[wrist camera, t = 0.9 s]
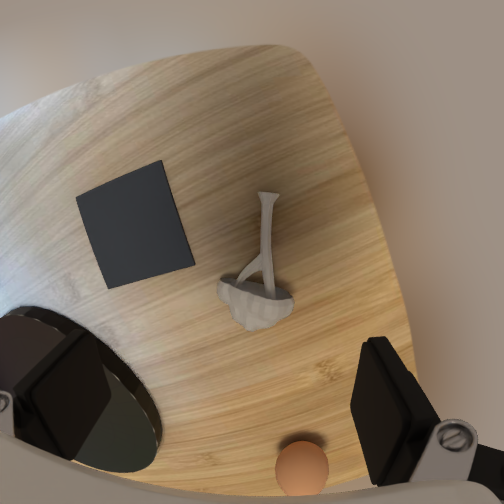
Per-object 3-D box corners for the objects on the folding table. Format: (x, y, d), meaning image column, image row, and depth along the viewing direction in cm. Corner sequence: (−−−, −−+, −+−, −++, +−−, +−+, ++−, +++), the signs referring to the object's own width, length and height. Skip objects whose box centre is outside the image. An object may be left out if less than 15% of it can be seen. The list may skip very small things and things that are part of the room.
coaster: (77, 197, 27) (75, 197, 26) (161, 160, 25) (160, 160, 25) (109, 288, 29) (108, 289, 29) (195, 264, 28) (194, 265, 27)
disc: (186, 471, 37) (182, 485, 34) (46, 441, 39) (40, 450, 36) (122, 304, 29) (110, 316, 26) (-24, 303, 31) (-36, 311, 29)
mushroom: (305, 195, 22) (283, 348, 23) (311, 199, 26) (292, 329, 28) (217, 186, 24) (203, 330, 25) (236, 191, 28) (223, 314, 30)
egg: (289, 425, 33) (292, 483, 24) (334, 435, 33) (344, 489, 24) (267, 452, 35) (265, 505, 26) (309, 461, 35) (314, 511, 26)
